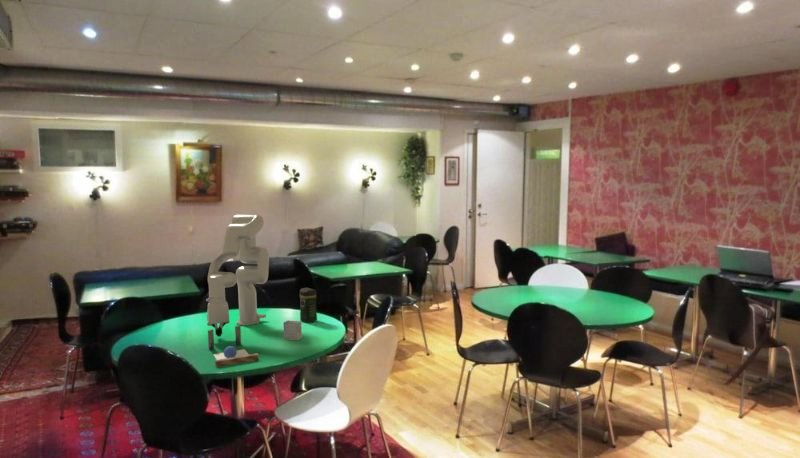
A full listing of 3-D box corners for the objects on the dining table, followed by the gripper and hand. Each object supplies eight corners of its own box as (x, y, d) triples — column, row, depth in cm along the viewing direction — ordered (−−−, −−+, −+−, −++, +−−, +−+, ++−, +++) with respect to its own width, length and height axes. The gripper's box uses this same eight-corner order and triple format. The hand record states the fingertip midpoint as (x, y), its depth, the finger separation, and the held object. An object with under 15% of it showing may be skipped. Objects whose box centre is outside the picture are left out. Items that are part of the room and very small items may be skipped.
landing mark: (244, 349, 256) (244, 349, 256) (251, 358, 244) (251, 357, 244) (213, 354, 249) (213, 354, 249) (219, 363, 237) (219, 363, 237)
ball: (235, 352, 248) (235, 342, 246) (237, 359, 244) (238, 349, 242) (222, 354, 246) (222, 344, 243) (225, 362, 241) (225, 351, 239)
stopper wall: (257, 358, 243) (257, 353, 243) (258, 360, 241) (258, 354, 241) (215, 365, 234) (215, 360, 234) (216, 367, 233) (215, 361, 232)
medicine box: (302, 338, 273) (301, 321, 272) (297, 340, 269) (297, 323, 268) (288, 336, 276) (287, 320, 275) (283, 339, 271) (283, 322, 271)
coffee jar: (319, 321, 304) (318, 288, 302) (307, 324, 299) (306, 290, 297) (310, 318, 311) (309, 286, 310) (298, 320, 306) (297, 287, 305)
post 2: (240, 343, 265) (239, 325, 264) (241, 345, 263) (241, 326, 262) (235, 344, 264) (234, 326, 263) (236, 345, 262) (235, 327, 261)
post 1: (213, 347, 259) (212, 329, 258) (214, 349, 257) (213, 330, 256) (208, 348, 258) (207, 330, 257) (209, 350, 256) (208, 331, 255)
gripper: (202, 303, 265) (204, 340, 267) (234, 299, 272) (235, 335, 274) (200, 300, 271) (202, 336, 273) (231, 296, 278) (232, 331, 280)
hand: (218, 335), depth 273 cm, fingers closed
